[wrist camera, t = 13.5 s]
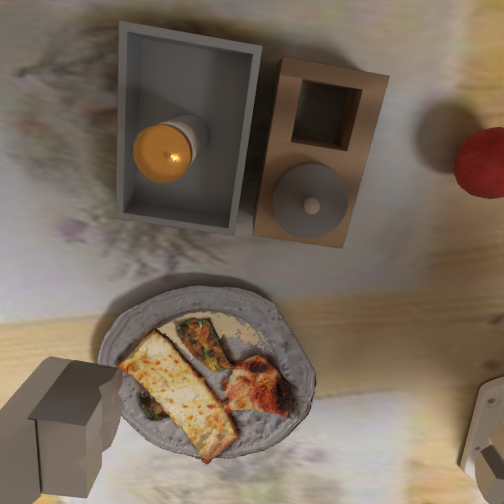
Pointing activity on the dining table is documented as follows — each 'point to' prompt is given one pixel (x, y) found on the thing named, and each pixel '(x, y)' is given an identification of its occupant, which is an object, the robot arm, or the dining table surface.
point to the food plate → (209, 374)
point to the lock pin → (170, 147)
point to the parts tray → (178, 104)
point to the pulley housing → (315, 157)
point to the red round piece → (482, 164)
